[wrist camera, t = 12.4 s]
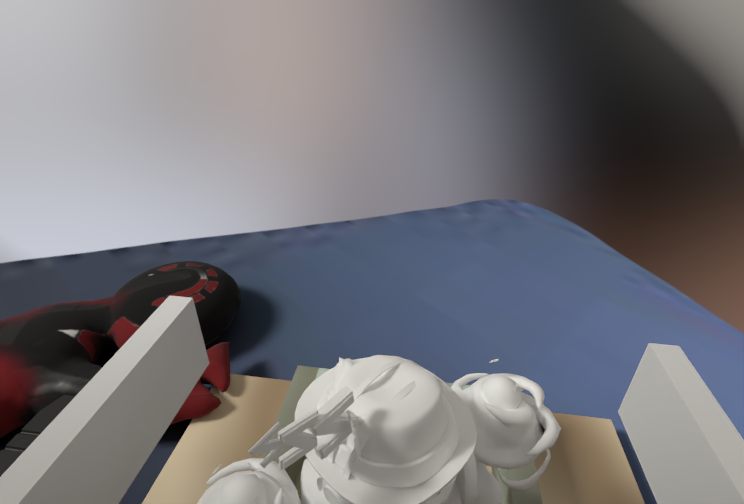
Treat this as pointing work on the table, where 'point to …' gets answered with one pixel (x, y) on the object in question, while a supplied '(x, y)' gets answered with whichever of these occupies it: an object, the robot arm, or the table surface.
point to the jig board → (278, 404)
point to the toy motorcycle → (110, 339)
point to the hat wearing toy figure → (396, 439)
